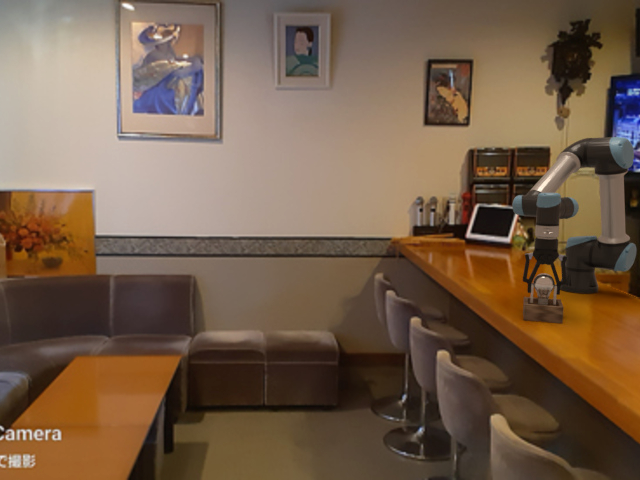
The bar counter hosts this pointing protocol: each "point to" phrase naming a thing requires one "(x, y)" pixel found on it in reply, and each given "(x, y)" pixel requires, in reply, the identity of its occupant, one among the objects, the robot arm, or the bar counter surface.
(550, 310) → the walnut box
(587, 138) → the robot arm
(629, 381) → the bar counter surface
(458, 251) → the bar counter surface
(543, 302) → the light bulb
